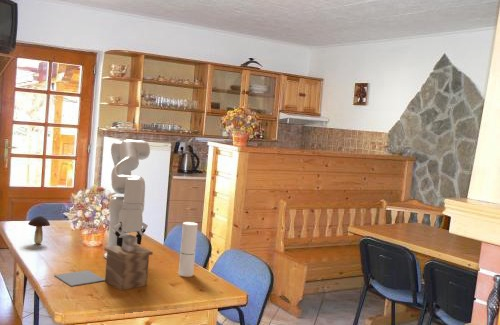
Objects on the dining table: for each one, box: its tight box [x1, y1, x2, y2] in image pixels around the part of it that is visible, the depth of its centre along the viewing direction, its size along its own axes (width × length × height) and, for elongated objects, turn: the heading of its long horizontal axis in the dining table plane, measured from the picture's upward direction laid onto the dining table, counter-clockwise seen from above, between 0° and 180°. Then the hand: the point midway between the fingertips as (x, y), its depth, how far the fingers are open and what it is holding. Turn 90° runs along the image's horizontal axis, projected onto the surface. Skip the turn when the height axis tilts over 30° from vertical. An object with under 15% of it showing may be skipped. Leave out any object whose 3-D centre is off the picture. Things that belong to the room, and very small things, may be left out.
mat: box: [54, 269, 105, 288], centre depth 227 cm, size 16×16×1 cm
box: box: [104, 251, 150, 291], centre depth 226 cm, size 13×13×14 cm
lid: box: [103, 233, 154, 259], centre depth 225 cm, size 15×15×7 cm
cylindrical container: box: [178, 221, 199, 278], centre depth 247 cm, size 7×7×25 cm
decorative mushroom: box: [28, 216, 51, 245], centre depth 276 cm, size 11×11×15 cm
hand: (128, 244), depth 225 cm, fingers open, 9 cm apart
